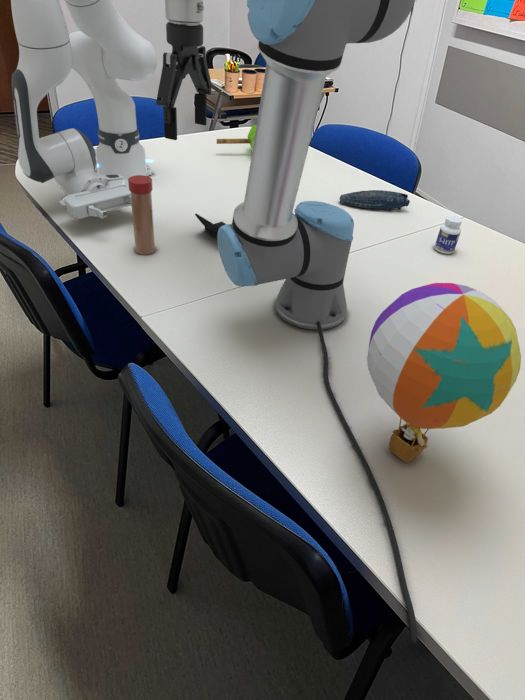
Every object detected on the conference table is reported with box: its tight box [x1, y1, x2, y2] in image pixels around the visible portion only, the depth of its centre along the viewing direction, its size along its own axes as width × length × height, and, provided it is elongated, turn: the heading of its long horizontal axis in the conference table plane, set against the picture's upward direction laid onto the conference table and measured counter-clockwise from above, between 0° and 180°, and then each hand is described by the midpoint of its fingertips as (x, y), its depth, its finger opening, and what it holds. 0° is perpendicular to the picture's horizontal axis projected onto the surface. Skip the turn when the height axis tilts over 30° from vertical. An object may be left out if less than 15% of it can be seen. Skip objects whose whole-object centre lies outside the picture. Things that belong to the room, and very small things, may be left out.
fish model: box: [339, 189, 411, 211], centre depth 158 cm, size 7×21×5 cm, turn 84°
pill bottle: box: [434, 215, 463, 255], centre depth 137 cm, size 5×5×9 cm
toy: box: [366, 282, 522, 464], centre depth 73 cm, size 20×20×30 cm
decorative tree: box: [216, 123, 257, 151], centre depth 186 cm, size 18×10×30 cm
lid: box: [128, 175, 153, 194], centre depth 118 cm, size 5×5×2 cm
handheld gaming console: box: [194, 213, 226, 238], centre depth 135 cm, size 12×7×10 cm
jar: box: [130, 191, 156, 256], centre depth 123 cm, size 5×5×17 cm
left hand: (121, 210), depth 129 cm, fingers open, 8 cm apart
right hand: (186, 131), depth 119 cm, fingers open, 13 cm apart
